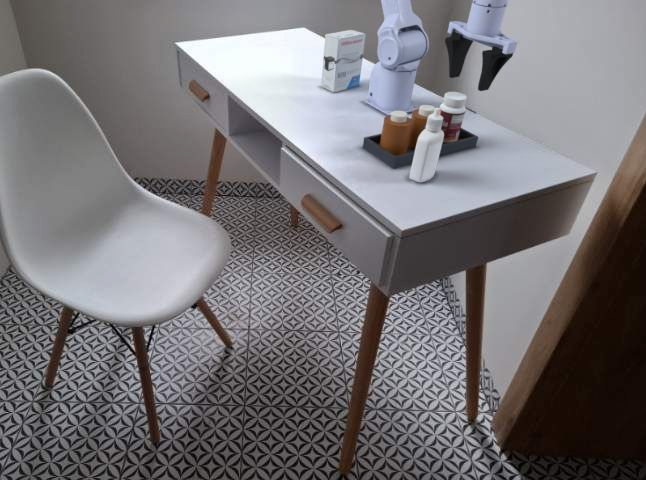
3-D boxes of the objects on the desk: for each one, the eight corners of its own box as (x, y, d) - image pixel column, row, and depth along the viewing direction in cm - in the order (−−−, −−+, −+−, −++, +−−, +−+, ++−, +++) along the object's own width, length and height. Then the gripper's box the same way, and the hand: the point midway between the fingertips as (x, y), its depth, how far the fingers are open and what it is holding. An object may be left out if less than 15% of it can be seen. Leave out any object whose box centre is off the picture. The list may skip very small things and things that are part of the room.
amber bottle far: (373, 148, 96) (379, 110, 91) (394, 143, 98) (401, 106, 93) (390, 159, 92) (397, 121, 88) (411, 154, 94) (419, 116, 90)
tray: (362, 147, 97) (363, 137, 96) (442, 129, 105) (444, 119, 104) (393, 168, 91) (395, 157, 90) (475, 147, 99) (478, 136, 98)
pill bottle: (427, 134, 101) (437, 92, 96) (447, 131, 103) (458, 89, 97) (441, 145, 98) (452, 101, 92) (462, 141, 99) (474, 98, 94)
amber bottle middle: (400, 142, 98) (407, 104, 94) (420, 137, 100) (428, 100, 96) (418, 152, 95) (426, 114, 90) (438, 147, 97) (447, 110, 92)
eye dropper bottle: (442, 180, 88) (460, 111, 81) (414, 184, 87) (430, 115, 79) (428, 168, 92) (445, 101, 84) (401, 172, 90) (415, 105, 82)
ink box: (345, 80, 126) (351, 28, 119) (359, 86, 123) (367, 33, 116) (319, 86, 122) (324, 33, 114) (333, 93, 119) (339, 38, 112)
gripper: (539, 11, 85) (512, 92, 94) (475, -7, 95) (456, 68, 104) (509, 14, 83) (484, 98, 91) (447, -4, 92) (430, 73, 101)
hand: (468, 83), depth 97 cm, fingers open, 7 cm apart
